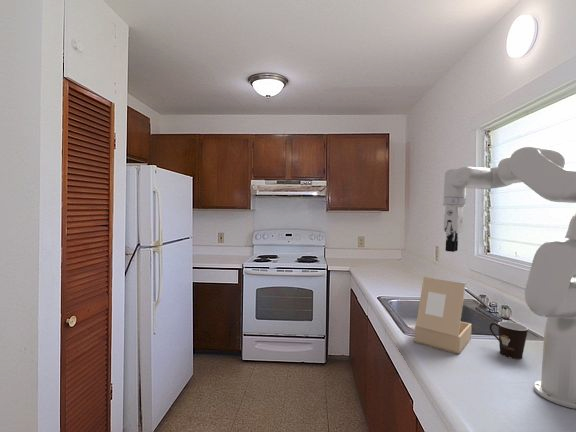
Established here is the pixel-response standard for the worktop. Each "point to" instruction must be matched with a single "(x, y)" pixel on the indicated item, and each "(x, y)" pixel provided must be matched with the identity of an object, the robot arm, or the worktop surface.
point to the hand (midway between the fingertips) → (451, 250)
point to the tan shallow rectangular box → (444, 338)
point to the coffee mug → (511, 338)
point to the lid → (441, 306)
